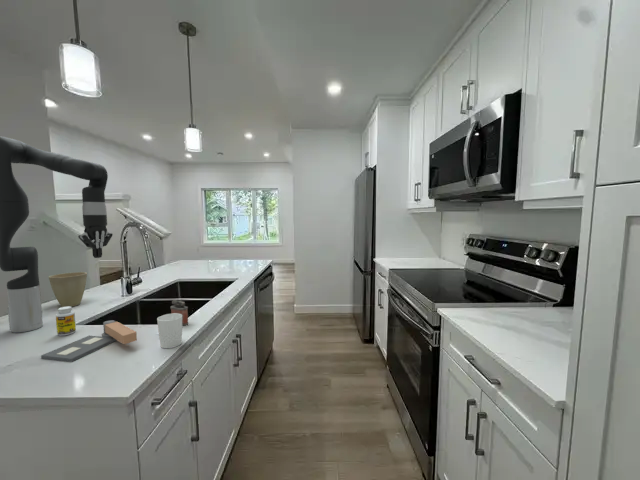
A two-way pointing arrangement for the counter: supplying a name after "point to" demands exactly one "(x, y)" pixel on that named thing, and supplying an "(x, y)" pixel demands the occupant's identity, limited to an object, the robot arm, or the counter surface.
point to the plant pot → (68, 287)
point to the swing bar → (119, 332)
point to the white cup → (170, 330)
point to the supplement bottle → (65, 321)
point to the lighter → (180, 311)
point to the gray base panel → (79, 348)
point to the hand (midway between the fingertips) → (97, 257)
